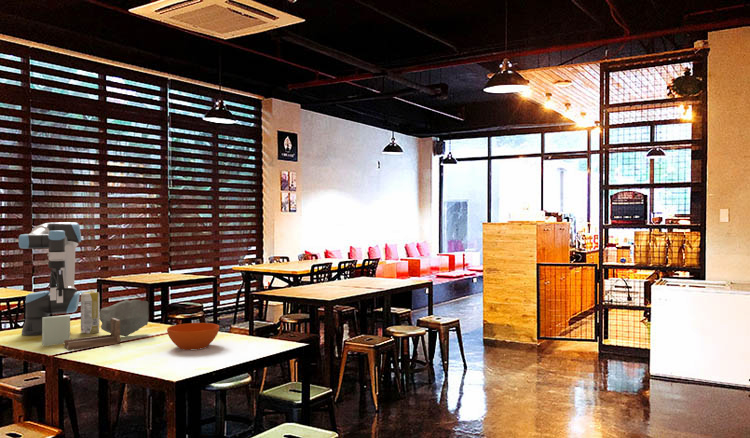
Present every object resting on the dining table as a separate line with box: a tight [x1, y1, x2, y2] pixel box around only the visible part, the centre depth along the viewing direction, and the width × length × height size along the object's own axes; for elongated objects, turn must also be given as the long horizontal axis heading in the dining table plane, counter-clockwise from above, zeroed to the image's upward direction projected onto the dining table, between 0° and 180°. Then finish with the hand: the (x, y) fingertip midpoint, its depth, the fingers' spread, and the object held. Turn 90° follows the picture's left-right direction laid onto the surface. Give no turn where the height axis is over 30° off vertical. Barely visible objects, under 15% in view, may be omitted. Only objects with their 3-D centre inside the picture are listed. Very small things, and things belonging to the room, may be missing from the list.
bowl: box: [166, 322, 220, 351], centre depth 293 cm, size 25×25×10 cm
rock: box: [99, 299, 150, 337], centre depth 319 cm, size 27×6×20 cm, turn 137°
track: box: [63, 318, 121, 351], centre depth 297 cm, size 10×24×12 cm, turn 131°
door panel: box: [41, 314, 71, 347], centre depth 300 cm, size 4×12×14 cm, turn 131°
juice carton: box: [80, 289, 101, 335], centre depth 330 cm, size 9×8×24 cm
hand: (56, 301), depth 300 cm, fingers open, 13 cm apart
